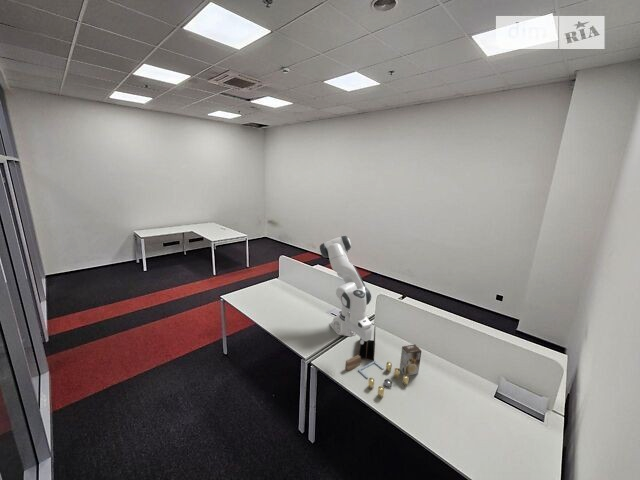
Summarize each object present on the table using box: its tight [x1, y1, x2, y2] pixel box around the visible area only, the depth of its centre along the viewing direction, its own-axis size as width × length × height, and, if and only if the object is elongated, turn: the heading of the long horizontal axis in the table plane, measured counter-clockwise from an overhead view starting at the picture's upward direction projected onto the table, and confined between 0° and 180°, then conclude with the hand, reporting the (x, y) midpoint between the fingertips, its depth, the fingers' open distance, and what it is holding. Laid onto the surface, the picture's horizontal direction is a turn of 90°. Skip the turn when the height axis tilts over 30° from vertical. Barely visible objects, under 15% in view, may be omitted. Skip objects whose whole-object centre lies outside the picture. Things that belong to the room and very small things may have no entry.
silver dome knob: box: [383, 378, 393, 389], centre depth 148 cm, size 4×4×2 cm
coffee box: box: [399, 344, 422, 376], centre depth 156 cm, size 9×6×16 cm
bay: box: [357, 360, 384, 380], centre depth 158 cm, size 7×14×1 cm, turn 125°
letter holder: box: [358, 326, 376, 362], centre depth 174 cm, size 10×20×14 cm, turn 168°
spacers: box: [367, 361, 410, 400], centre depth 148 cm, size 15×21×5 cm
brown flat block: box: [344, 354, 362, 372], centre depth 160 cm, size 2×10×6 cm, turn 125°
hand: (356, 339), depth 156 cm, fingers open, 8 cm apart
